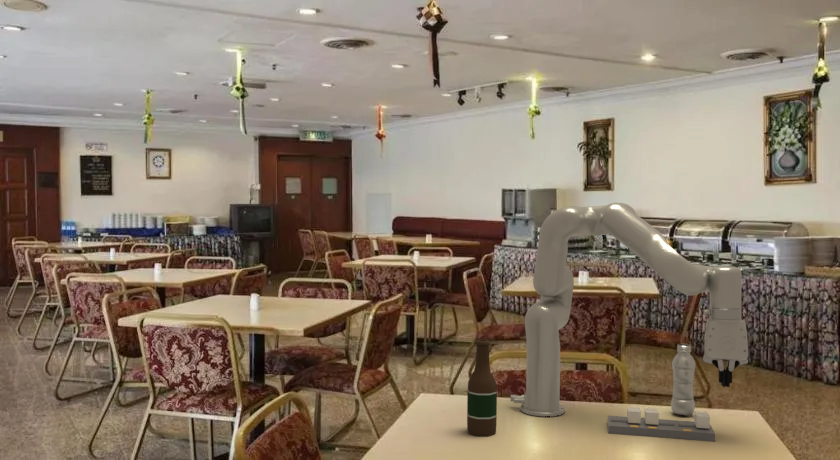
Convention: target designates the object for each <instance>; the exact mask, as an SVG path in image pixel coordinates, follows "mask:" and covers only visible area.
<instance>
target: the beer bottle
mask: <svg viewBox="0 0 840 460" xmlns="http://www.w3.org/2000/svg"><path fill="white" fill-rule="evenodd" d="M475 345H476V351H475V365H474V370H473V372H472V373H471V374H470V377H469V378H468V381H467V399H466V400H467V402H466V403H467V407H466V409H467V411H466V412H467V413H466V426H467V427H466V428H467V431H468V433H469V435H471V436H474V437H491V436H494V435H496V433H497V417H498V416H497V415H498V414H497V410H498V409H497V407H498V398H497V397H498V390H497V381H496V379H495V377H494V375H493V373H492V372H491V371H492V370H491V366H490V365H491V364H490V345H491V343H490V340H488V339H484V338H481V339H477V340H476V341H475Z"/></svg>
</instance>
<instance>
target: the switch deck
mask: <svg viewBox="0 0 840 460" xmlns="http://www.w3.org/2000/svg"><path fill="white" fill-rule="evenodd" d="M607 432H608V434H614V435H625V436H638V437H639V436H640V437H650V438H652V437H653V438H666V439H677V440H690V441H691V440H693V441H703V442H704V441H706V442H716V433H715V431H714V429H713V427H712V425H711V424H710V429H708V428H696V426H695V424H694V421H690V420H689V421H688V420H677V419H674V420H673V419H664V418H660V419H659V424H658V425H654V424H646V423H645V420H644V417H641V424H640V423H628V420H627V416H620V415H619V416H618V415H607Z"/></svg>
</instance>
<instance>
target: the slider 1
mask: <svg viewBox="0 0 840 460" xmlns="http://www.w3.org/2000/svg"><path fill="white" fill-rule="evenodd" d="M626 410H627V411H626V417H627V420H628V423H640V424H641V418H642V417H641V415H642V411H641V408H640V407H634V406H632V407H631V406H627V408H626Z"/></svg>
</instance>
